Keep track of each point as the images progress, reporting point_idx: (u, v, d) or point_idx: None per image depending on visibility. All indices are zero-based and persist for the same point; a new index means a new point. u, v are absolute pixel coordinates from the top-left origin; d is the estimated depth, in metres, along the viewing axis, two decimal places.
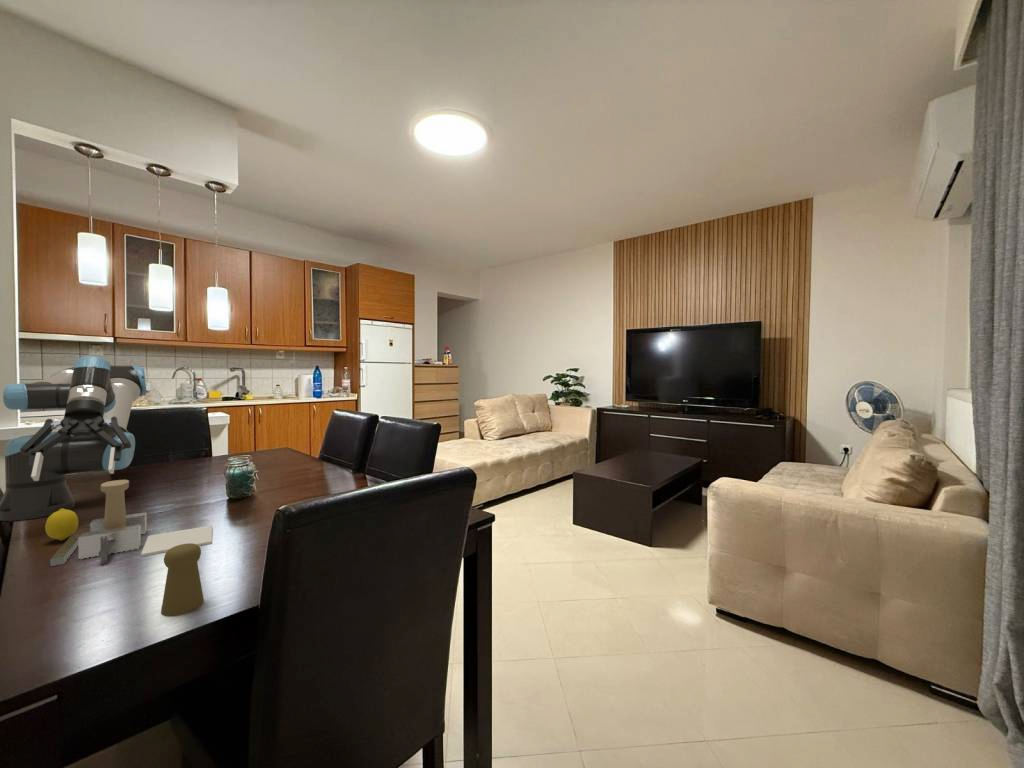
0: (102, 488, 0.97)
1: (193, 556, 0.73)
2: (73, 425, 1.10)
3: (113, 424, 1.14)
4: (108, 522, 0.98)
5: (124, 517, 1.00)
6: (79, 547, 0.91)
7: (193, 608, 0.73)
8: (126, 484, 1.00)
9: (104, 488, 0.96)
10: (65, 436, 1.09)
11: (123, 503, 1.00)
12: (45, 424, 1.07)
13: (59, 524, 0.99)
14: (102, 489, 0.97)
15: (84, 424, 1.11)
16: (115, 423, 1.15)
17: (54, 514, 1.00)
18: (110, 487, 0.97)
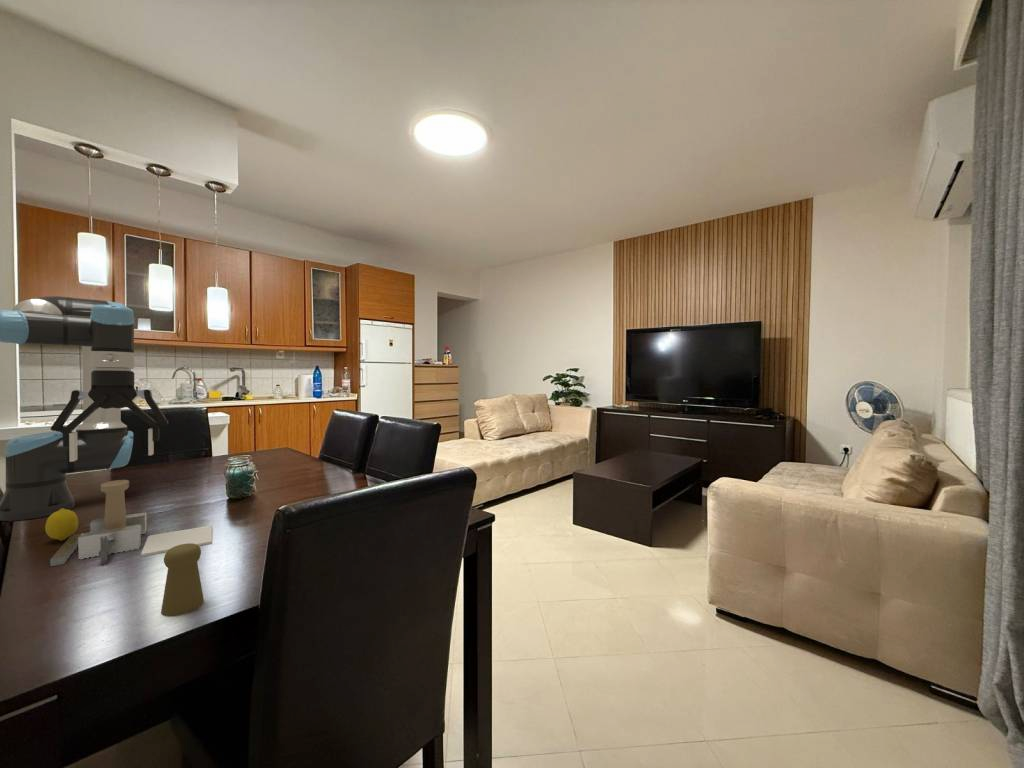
0: (102, 488, 0.97)
1: (193, 556, 0.73)
2: (103, 401, 0.97)
3: (147, 400, 1.02)
4: (108, 522, 0.98)
5: (124, 517, 1.00)
6: (79, 547, 0.91)
7: (193, 608, 0.73)
8: (126, 484, 1.00)
9: (104, 488, 0.96)
10: (96, 409, 0.98)
11: (123, 503, 1.00)
12: (72, 397, 0.94)
13: (59, 524, 0.99)
14: (102, 489, 0.97)
15: (115, 398, 0.98)
16: (149, 398, 1.02)
17: (54, 514, 1.00)
18: (110, 487, 0.97)
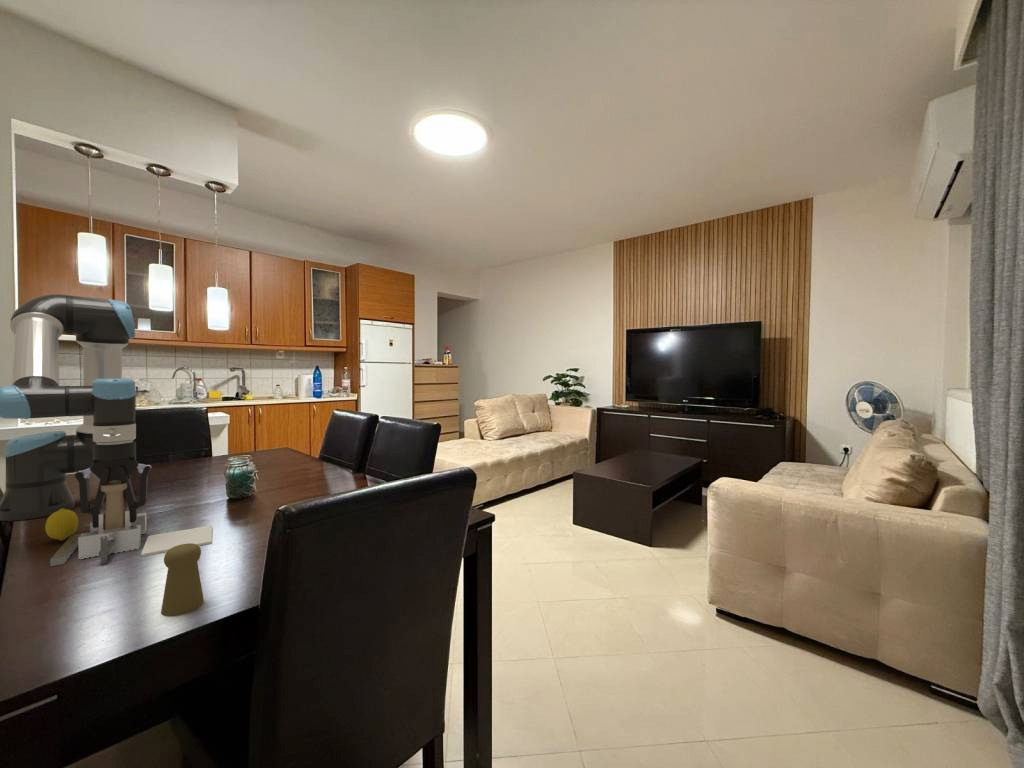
0: (102, 488, 0.97)
1: (193, 556, 0.73)
2: (108, 474, 0.98)
3: (142, 476, 1.01)
4: (108, 522, 0.98)
5: (124, 517, 1.00)
6: (79, 547, 0.91)
7: (193, 608, 0.73)
8: (126, 484, 1.00)
9: (104, 488, 0.96)
10: (107, 483, 0.99)
11: (123, 503, 1.00)
12: (79, 480, 0.95)
13: (59, 524, 0.99)
14: (102, 489, 0.97)
15: (116, 469, 0.99)
16: (145, 475, 1.02)
17: (54, 514, 1.00)
18: (110, 487, 0.97)
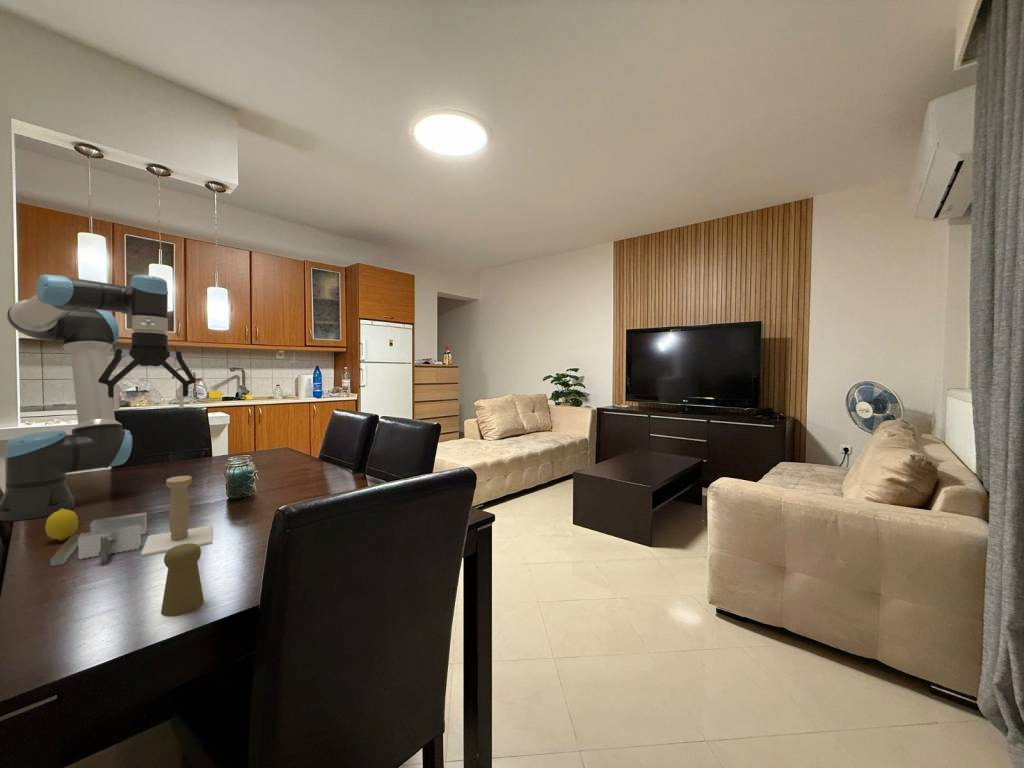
0: (168, 484, 0.99)
1: (193, 556, 0.73)
2: (142, 359, 1.12)
3: (178, 360, 1.17)
4: (173, 516, 1.00)
5: (188, 512, 1.02)
6: (79, 547, 0.91)
7: (193, 608, 0.73)
8: (190, 480, 1.02)
9: (170, 483, 0.99)
10: (135, 366, 1.13)
11: (187, 498, 1.02)
12: (116, 355, 1.09)
13: (59, 524, 0.99)
14: (168, 485, 0.99)
15: (152, 357, 1.13)
16: (180, 359, 1.17)
17: (54, 514, 1.00)
18: (176, 483, 0.99)
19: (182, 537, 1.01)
